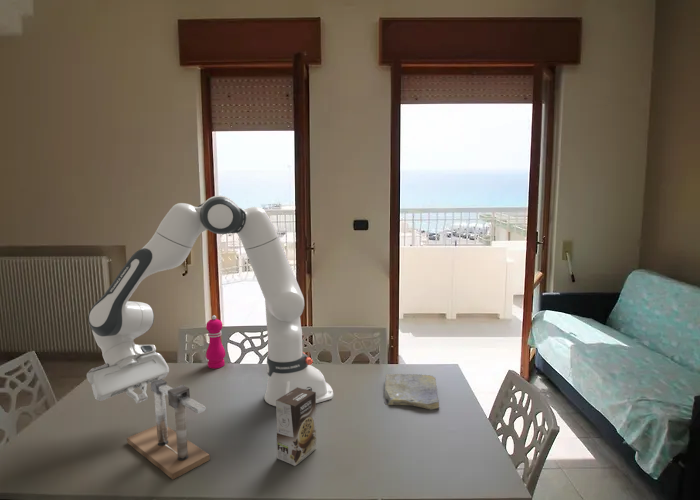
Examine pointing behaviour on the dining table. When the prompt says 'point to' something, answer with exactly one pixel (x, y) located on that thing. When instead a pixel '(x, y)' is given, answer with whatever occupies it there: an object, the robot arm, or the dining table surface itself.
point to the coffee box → (296, 425)
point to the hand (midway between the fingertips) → (142, 400)
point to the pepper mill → (215, 344)
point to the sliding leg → (160, 391)
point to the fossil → (411, 390)
